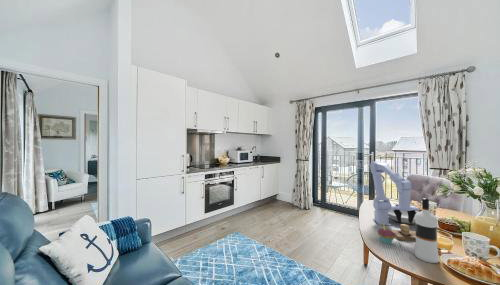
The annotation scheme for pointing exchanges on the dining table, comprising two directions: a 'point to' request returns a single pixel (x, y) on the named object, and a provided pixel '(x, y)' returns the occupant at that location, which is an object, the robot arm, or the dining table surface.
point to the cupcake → (386, 235)
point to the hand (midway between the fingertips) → (404, 222)
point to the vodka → (426, 234)
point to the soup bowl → (403, 217)
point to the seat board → (408, 238)
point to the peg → (404, 229)
